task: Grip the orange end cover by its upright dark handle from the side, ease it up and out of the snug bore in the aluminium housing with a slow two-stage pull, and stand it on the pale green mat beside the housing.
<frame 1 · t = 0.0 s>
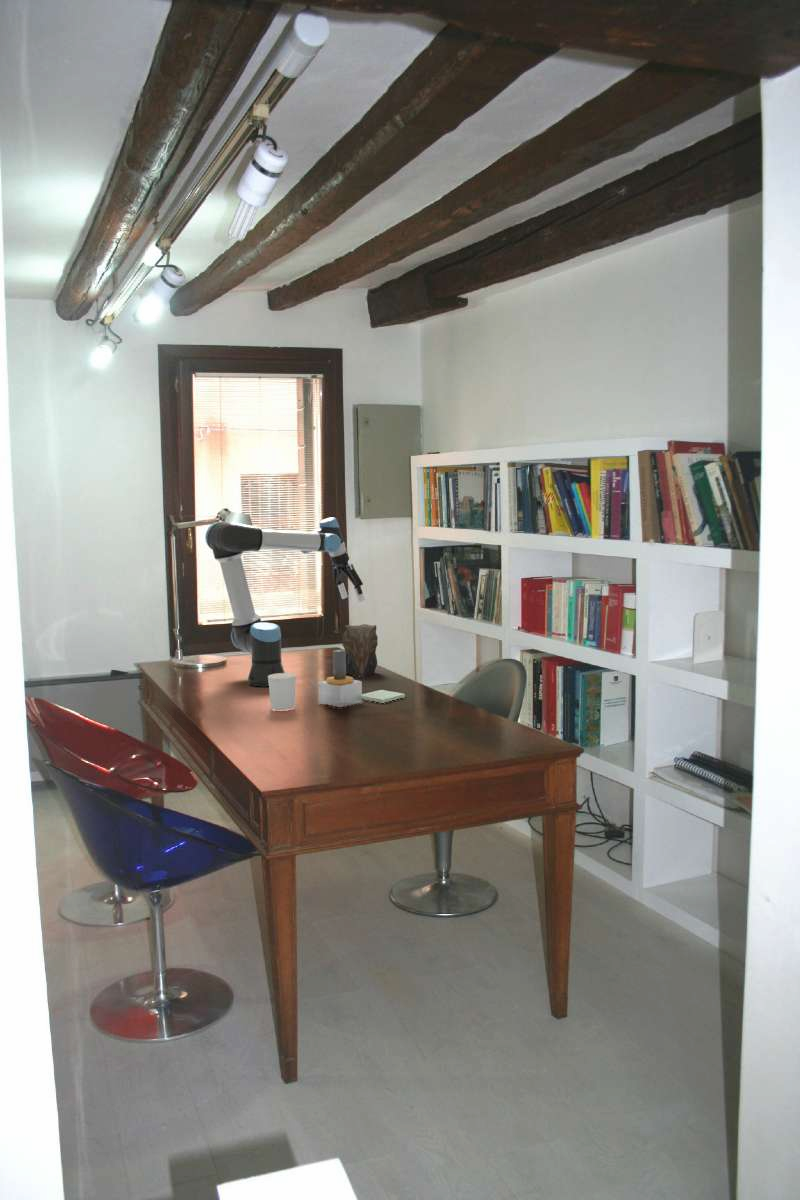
hand: (353, 599, 448), 28 cm above the table, tool tilted 20°, fingers open, 13 cm apart
candle holder: (282, 709, 369), on the table
mat: (381, 698, 383), on the table
owl: (359, 674, 429), on the table
housing: (340, 703, 376), on the table
end cover: (340, 698, 376), point 2 cm above the table, touching housing
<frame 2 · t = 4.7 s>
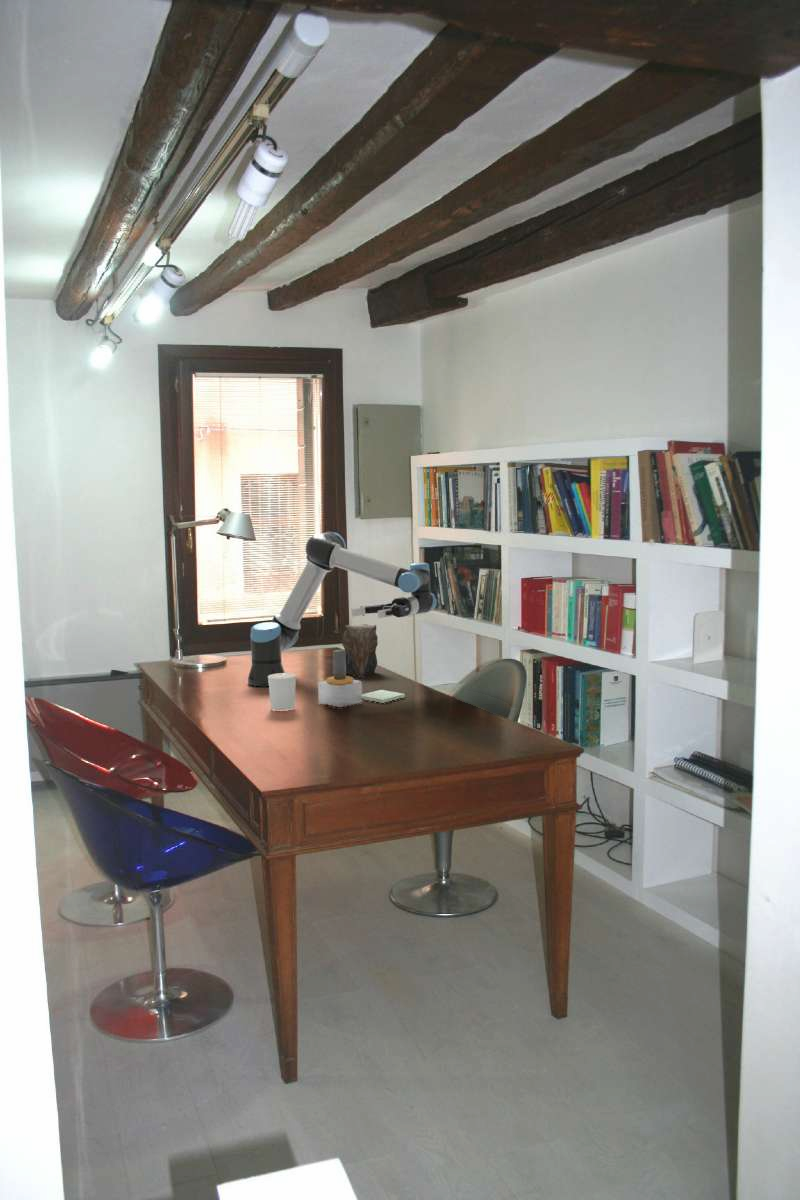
hand: (365, 613, 383), 31 cm above the table, tool horizontal, fingers open, 13 cm apart
nothing on the table moved.
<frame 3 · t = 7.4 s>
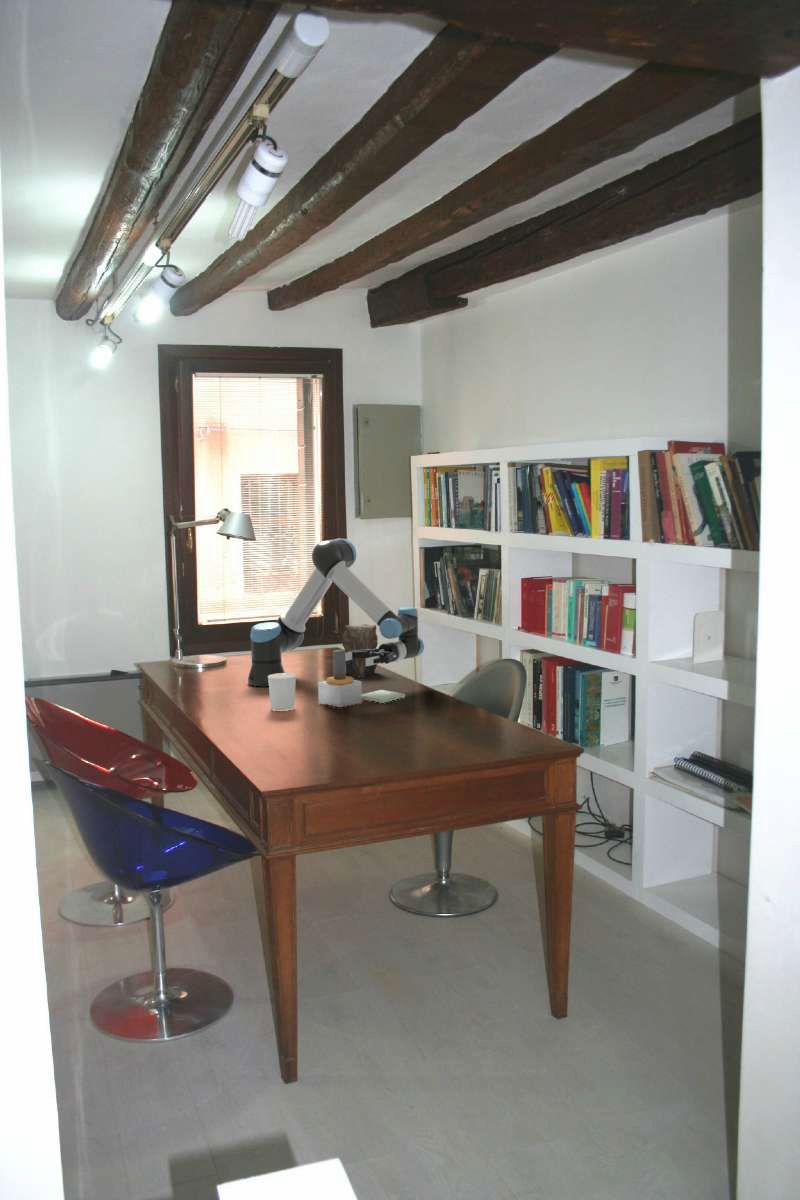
hand: (352, 660, 378), 15 cm above the table, tool horizontal, fingers open, 13 cm apart
nothing on the table moved.
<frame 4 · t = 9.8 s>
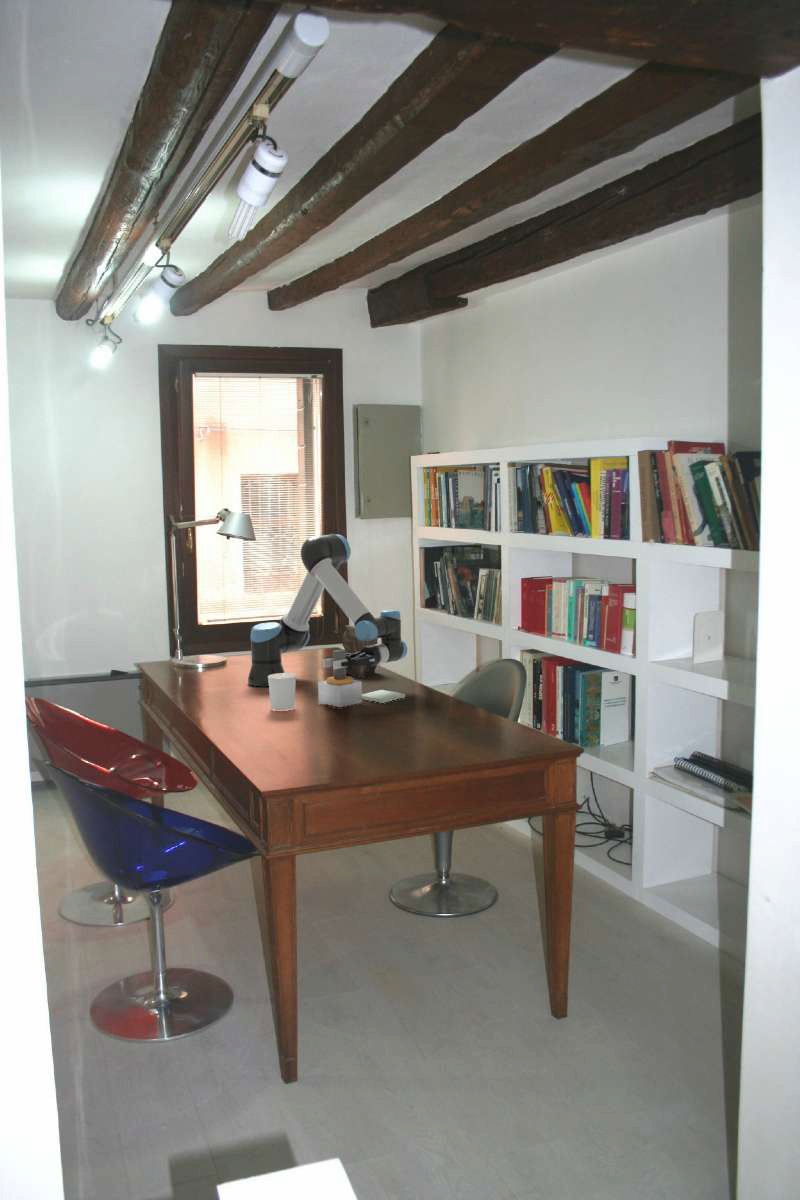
hand: (328, 664, 370), 15 cm above the table, tool horizontal, fingers closed on end cover, 4 cm apart
end cover: (340, 698, 376), point 2 cm above the table, touching gripper, housing
everything else where it was.
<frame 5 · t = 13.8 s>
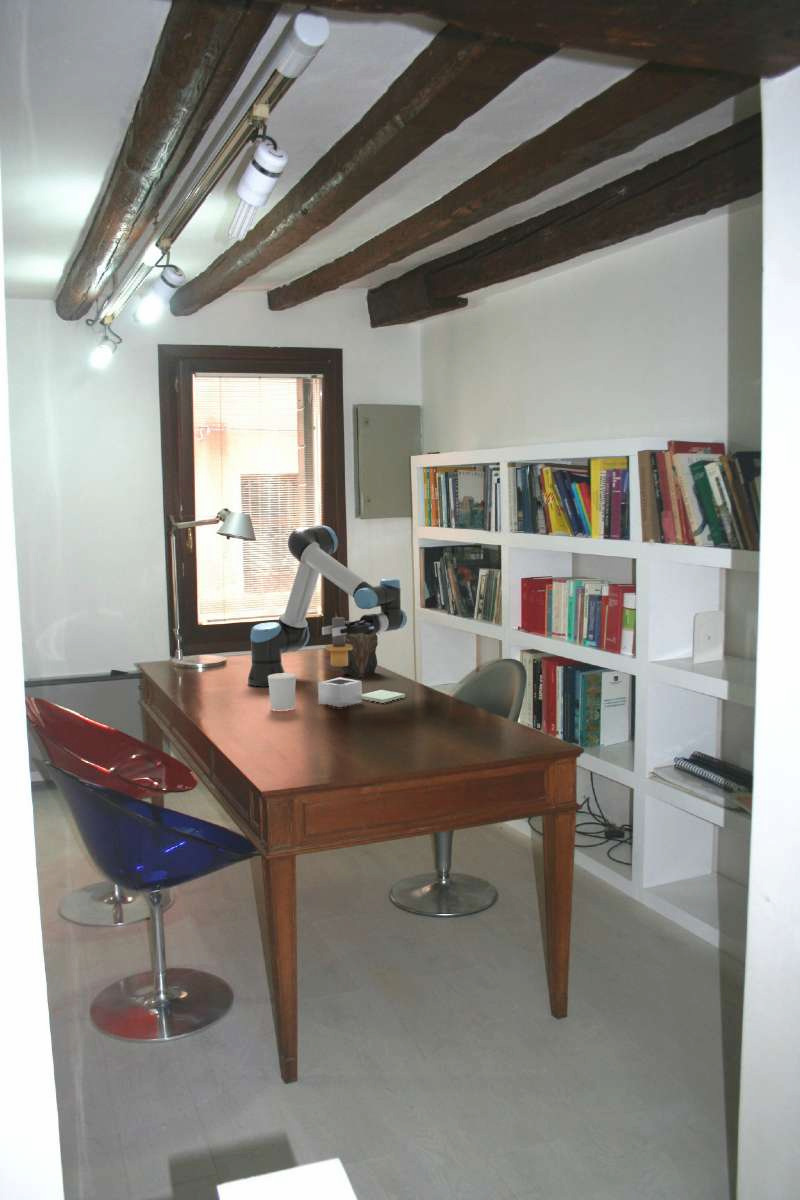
hand: (327, 631, 369), 27 cm above the table, tool horizontal, fingers closed on end cover, 4 cm apart
end cover: (339, 665, 374), point 14 cm above the table, touching gripper
everything else where it was.
when the fingers open (16 cm above the table, at t = 18.0 s): end cover drops 1 cm, resting on mat.
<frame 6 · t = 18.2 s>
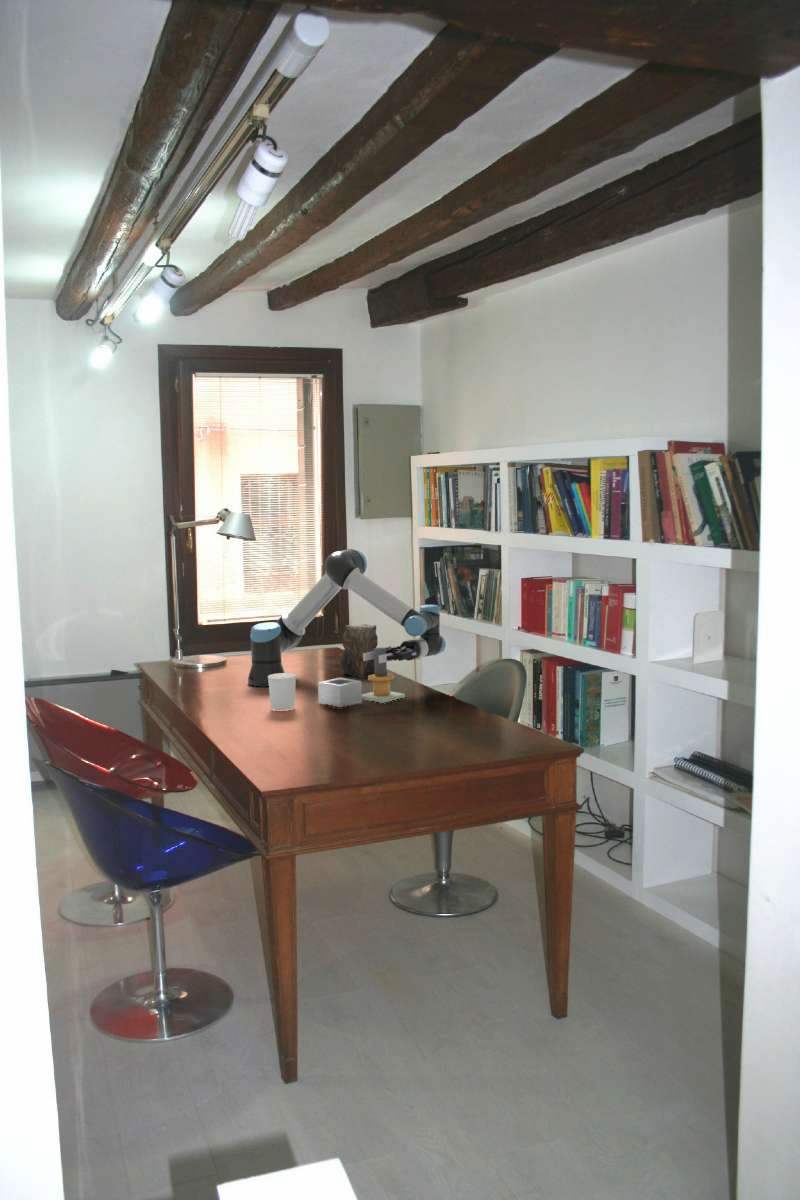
hand: (371, 658, 377), 16 cm above the table, tool horizontal, fingers open, 7 cm apart
end cover: (381, 695, 383), point 1 cm above the table, touching mat
everything else where it was.
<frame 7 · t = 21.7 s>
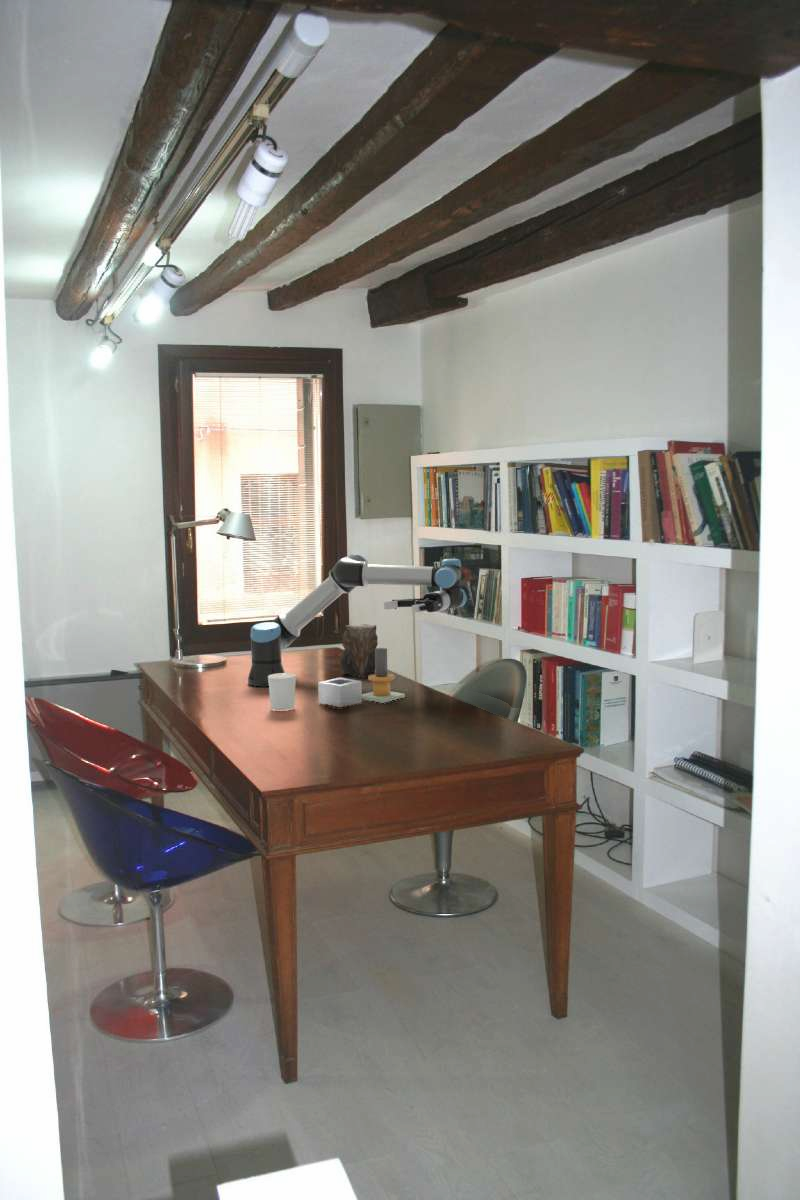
hand: (398, 607, 386), 32 cm above the table, tool horizontal, fingers open, 13 cm apart
nothing on the table moved.
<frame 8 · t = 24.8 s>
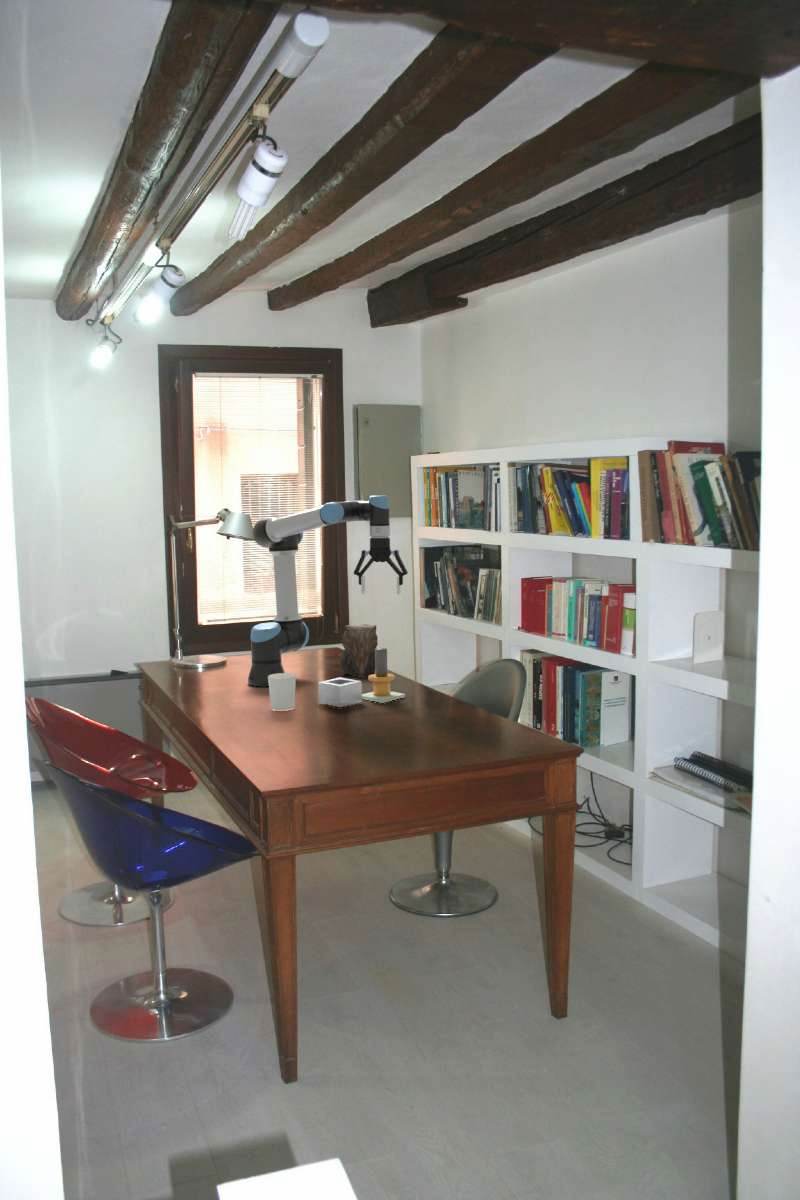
hand: (380, 593, 394), 37 cm above the table, tool pointing down, fingers open, 13 cm apart
nothing on the table moved.
at the end: end cover 0.0 cm off-centre on the mat, point 1.2 cm above the mat's base; end cover tilted 0°; the gripper is holding nothing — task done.
